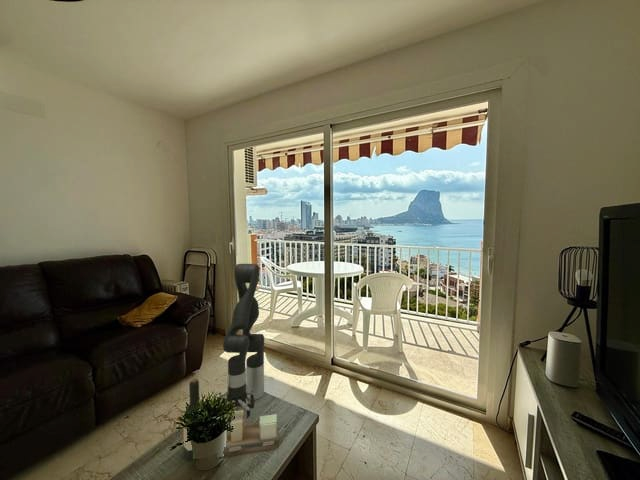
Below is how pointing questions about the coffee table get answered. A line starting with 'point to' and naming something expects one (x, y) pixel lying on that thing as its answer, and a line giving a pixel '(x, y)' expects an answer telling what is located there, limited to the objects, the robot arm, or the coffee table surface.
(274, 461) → the coffee table surface
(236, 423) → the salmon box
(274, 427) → the sage box
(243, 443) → the shelf board
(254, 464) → the coffee table surface
